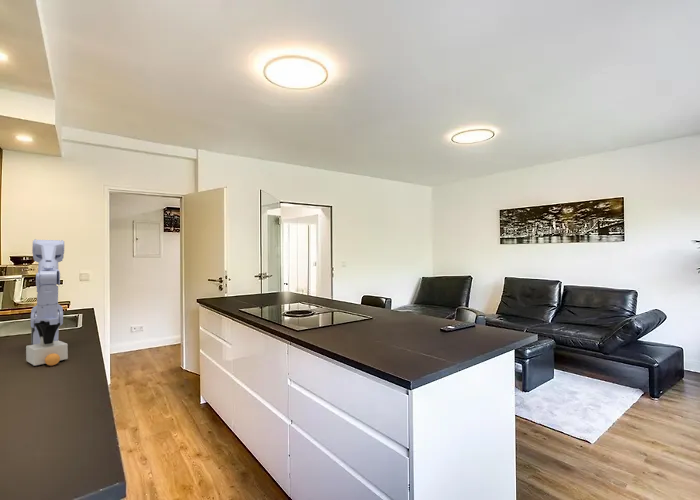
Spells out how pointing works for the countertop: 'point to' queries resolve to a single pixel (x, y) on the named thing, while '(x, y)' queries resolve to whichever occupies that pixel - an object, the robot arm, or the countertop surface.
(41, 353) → the grey knobbed block
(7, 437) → the countertop surface
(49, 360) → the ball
